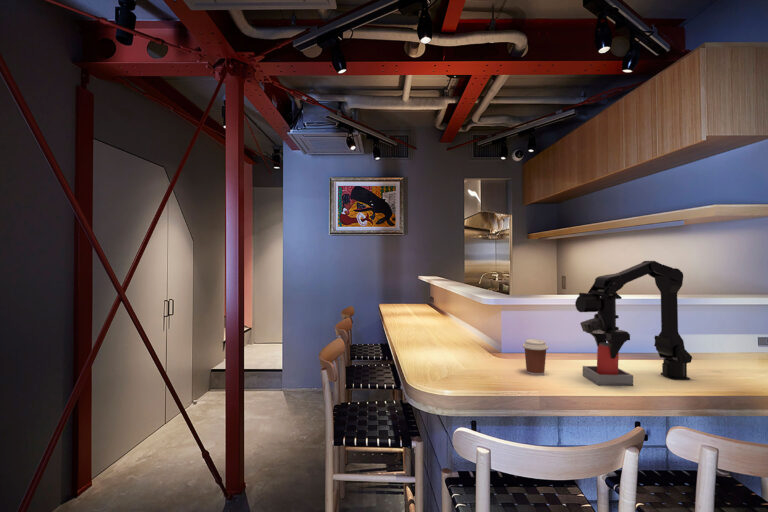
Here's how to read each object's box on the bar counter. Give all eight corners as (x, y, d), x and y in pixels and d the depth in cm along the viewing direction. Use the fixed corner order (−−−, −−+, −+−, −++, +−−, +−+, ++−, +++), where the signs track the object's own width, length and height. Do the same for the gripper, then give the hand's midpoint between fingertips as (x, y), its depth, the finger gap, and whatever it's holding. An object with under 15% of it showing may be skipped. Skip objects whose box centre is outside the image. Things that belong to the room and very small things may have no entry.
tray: (614, 375, 146) (614, 366, 146) (633, 385, 134) (633, 375, 134) (582, 375, 146) (582, 366, 146) (598, 385, 135) (598, 375, 135)
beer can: (620, 381, 136) (622, 346, 136) (600, 379, 138) (601, 345, 138) (613, 376, 143) (614, 342, 143) (593, 374, 144) (594, 341, 144)
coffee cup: (544, 369, 154) (543, 338, 154) (551, 376, 145) (551, 343, 145) (520, 369, 155) (519, 338, 155) (526, 375, 146) (525, 343, 146)
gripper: (571, 308, 150) (572, 349, 150) (596, 315, 131) (597, 362, 131) (601, 308, 150) (602, 349, 149) (630, 315, 131) (631, 362, 131)
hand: (606, 355), depth 140 cm, fingers open, 8 cm apart
